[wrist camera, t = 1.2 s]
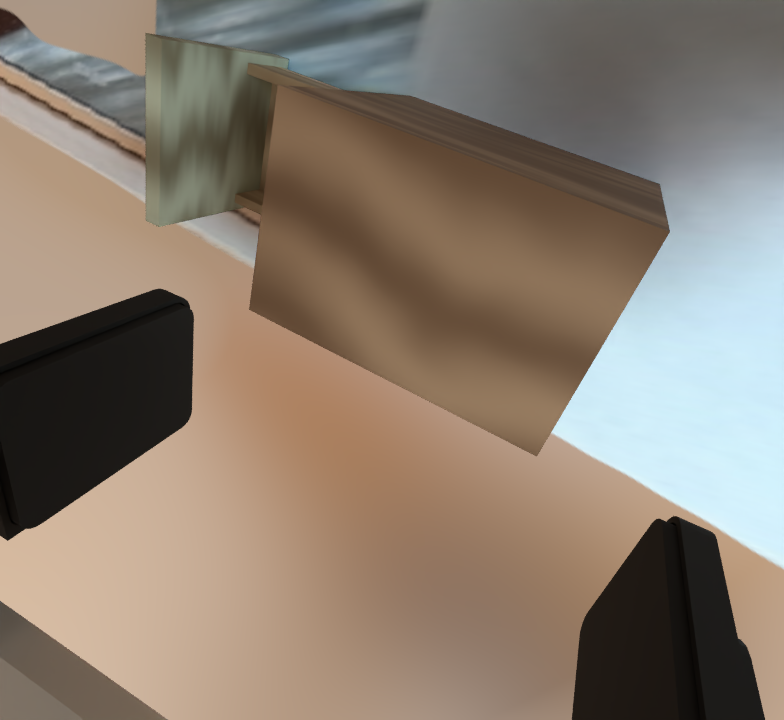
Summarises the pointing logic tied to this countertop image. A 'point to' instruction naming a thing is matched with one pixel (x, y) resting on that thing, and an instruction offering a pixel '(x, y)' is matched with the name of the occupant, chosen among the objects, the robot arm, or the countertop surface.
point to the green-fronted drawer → (209, 126)
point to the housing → (448, 252)
